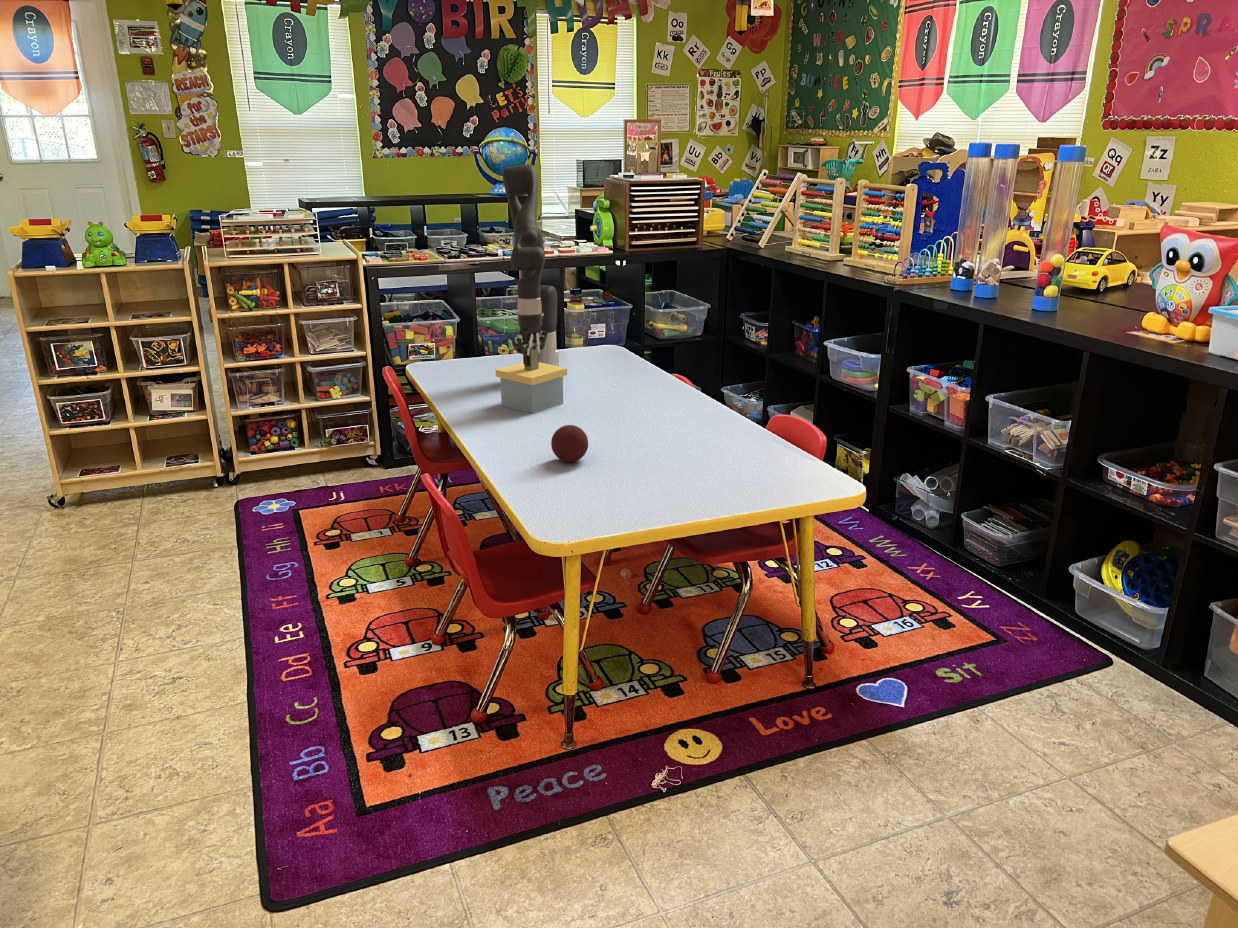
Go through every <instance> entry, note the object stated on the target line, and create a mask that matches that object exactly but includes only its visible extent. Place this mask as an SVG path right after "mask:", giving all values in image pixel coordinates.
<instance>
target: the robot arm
mask: <svg viewBox="0 0 1238 928" xmlns="http://www.w3.org/2000/svg"><path fill="white" fill-rule="evenodd" d="M502 182H503V186H504V191H505V195H506V199H507V202H508V207H509V211H510V216H511V221H512V222H511V223H512V228H513V234H514V235H513V236H514V245H513V248H512V251H511V254H510V265H511V266H512V268H513V269H515V270H516V271H520V272H521V273H520V274H521V278H519V279H518V280H517V326H518V327H519V329H520V330H519V332H518V335H517V336H513V338H512V340H513V343H514V346H515V349H516V351H517V354H521V355H522V360H523V362H522V363H523V364H524V366H527V367H529V366H530V348H535V349H538V364H539V362H540V363H545V364H550V365H554V366H559V365H560V364H559V362H560V361H559V358H560V357H559V351H558V350H557V322H558V292H557V290H556V287H554V286H553V285H546V284H541V280H542V275H543V270H544V268H545V267H544V266H545V262H546V254H545V246H544V245H545V244H544V239H543V233H542V230H541V228H540V226H539V224H538V221H537V217H538V216H537V215H538V203H539V176H538V171H537V169H536V167H535V166H534V165H533V164H520V165H512V166H507V167H505V168H503V170H502ZM525 195H527V197H526V199H525V201H524V203H523V204H521V203H520V201H519V198H518V196H519V197H520V196H525ZM542 314H543V316H542ZM526 349H527V350H526ZM559 367H560V366H559Z"/></svg>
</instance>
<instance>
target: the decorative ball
mask: <svg viewBox="0 0 1238 928" xmlns="http://www.w3.org/2000/svg"><path fill="white" fill-rule="evenodd" d="M550 444H551V445H550V446H551V449H552V452H553V453H554V456H555V457H557V458H558V459H559V460H560V461H563V462H566V463H573V462H577V461H579V460H581V459H582V458H583V457H584V456H585V455H586V453H587V451H588V448H589V439H588V435H587V434H586V432H585V431H584V430H583V429H582V428H581V427H580V426H576V425H573V424H566V425H563V426H560V427H559V428H558V429H556V431H554V433H553V434H552V437H551V440H550Z"/></svg>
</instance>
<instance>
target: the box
mask: <svg viewBox="0 0 1238 928" xmlns="http://www.w3.org/2000/svg"><path fill="white" fill-rule="evenodd" d="M563 378H564V376H563V377H559V378H556V379H552V380H549V381H545V382H542V383H538V384H535V385H529V384H524V383H520V382H516V381H512V380H508V379H503V378H500V397H501V398H500V399H501V400H500V402H501V406H503V407H507V408H511V409H514V410H518V411H522V412H527V413H530V414H536V413H538V412H541V411H544V410H548V409H552V408H554V407H557V406H561V405H563V404H564V379H563Z"/></svg>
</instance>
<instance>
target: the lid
mask: <svg viewBox="0 0 1238 928" xmlns="http://www.w3.org/2000/svg"><path fill="white" fill-rule="evenodd" d="M526 350H527V348H526ZM566 376H568V368H567V367H563V366H554V365H550V364H545V363H540V362H539V364H538V349H535V348H530V366H529V367H527V366H524V364H523V362H521V363H517V364H513V365H510V366H509V365H508V366H505V367H502V368H497V369H495V377H496V378H503V379H508V380H512V381H516V382H520V383H524V384H529V385H535V384H538V383H542V382H545V381H549V380H552V379H556V378H559V377H563V378H564V377H566Z"/></svg>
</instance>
